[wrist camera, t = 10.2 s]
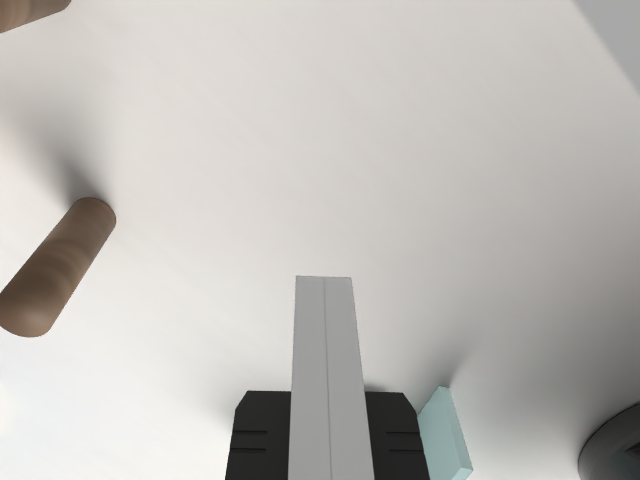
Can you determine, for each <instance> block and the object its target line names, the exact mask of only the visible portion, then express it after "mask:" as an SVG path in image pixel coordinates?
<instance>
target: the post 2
mask: <svg viewBox="0 0 640 480" xmlns="http://www.w3.org/2000/svg"><path fill="white" fill-rule="evenodd" d="M115 224H116V217H115V214H114V212H113V210H112V209H111V208H110V207H109V206H108V205H107V204H106V203H104V202H103V201H101V200H98V199H95V198H83V199H80V200H78V201H77V202H75V203H74V205H73V206H72V207H71V208H70V209H69V211H68V212H67V213H66V214H65V215H64V217H63V218H62V219H61V220H60V222H59V223H58V224H57V225H56V226H55V228H54V229H53V230H52V231H51V232H50V234H49V235H48V236H47V237H46V238H45V240H44V241H43V242H42V243H41V245H40V246H39V247H38V248H37V249H36V251H35V252H34V253H33V254H32V255H31V257H30V258H29V259H28V260H27V261H26V263H25V264H24V265H23V266H22V268H21V269H20V270H19V271H18V272H17V274H16V275H15V276H14V277H13V278H12V280H11V281H10V282H9V283H8V284H7V286H6V287H5V288H4V289H3V291H2V292H1V293H0V326H1V327H2V328H4V329H5V330H7V331H8V332H10V333H12V334H15V335H18V336H22V337H38V336H41V335H44V334H45V333H47V332H48V331H49V330H50V328H51V327H52V325H53V324H54V322H55V320H56V319H57V317H58V316H59V314H60V313H61V311H62V309H63V308H64V306H65V305H66V303H67V301H68V300H69V298H70V297H71V295H72V294H73V292H74V290H75V289H76V287H77V286H78V284H79V283H80V281H81V279H82V278H83V276H84V275H85V273H86V271H87V270H88V268H89V267H90V265H91V264H92V262H93V260H94V259H95V257H96V256H97V254H98V253H99V251H100V249H101V248H102V246H103V245H104V243H105V241H106V240H107V238H108V237H109V235H110V234H111V232H112V230H113V229H114V227H115Z"/></svg>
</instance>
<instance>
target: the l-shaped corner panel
mask: <svg viewBox="0 0 640 480" xmlns="http://www.w3.org/2000/svg"><path fill="white" fill-rule="evenodd" d="M417 420H418V424H419V429H420V437H421V438H422V443H423V448H424V454H425V457H426V462H427V466H428V471H429V476H430V480H466V479H467V477H468V476H469V475H470V474H471V473H472V471H473V467H472V464H471V461H470V457H469V454H468V450H467V447H466V444H465V440H464V437H463V433H462V430H461V427H460V423H459V420H458V417H457V413H456V410H455V406H454V403H453V400H452V396H451V393H450V390H449V388H446V387H442V386H438V387H437V389H436V390H435V392H434V393H433V395H432V396H431V398H430V399H429V401H428V402H427V403H426V405H425V406H424V408H423V409H422V411H421V412H420V414H419V415H418V416H417Z"/></svg>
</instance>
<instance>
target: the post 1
mask: <svg viewBox="0 0 640 480" xmlns="http://www.w3.org/2000/svg"><path fill="white" fill-rule="evenodd" d="M70 2H71V0H0V33H3V32H6V31H8V30H11V29H14V28H16V27H19V26H22V25H24V24H27V23H30V22H33V21H35V20H38V19H41V18H43V17H46V16H49V15H51V14H54V13H57V12H59V11H62V10H64V9H65V8H66V7H67V6H68V5H69V4H70Z"/></svg>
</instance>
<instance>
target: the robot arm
mask: <svg viewBox="0 0 640 480" xmlns="http://www.w3.org/2000/svg"><path fill="white" fill-rule="evenodd" d="M578 471H579V475H580V478H581V480H640V404H638V405H636V406H634V407H632V408H630V409H628V410H626V411H624V412H622V413H621V414H619V415H617V416H616V417H614V418H613V419H611V420H610V421H609V422H607V423H606V424H605V425H604V426H602V427H601V428H600V429H599V430H598V431H597V432H596V433H595V434H594V435H593V436H592V437H591V438H590V440H589V441H588V442H587V444H586V445H585V447H584V449H583V451H582V453H581V455H580V458H579V463H578ZM225 480H430V476H429V471H428V466H427V462H426V457H425V454H424V448H423V443H422V438H421V437H420V429H419V424H418V420H417V415H416V411H415V410H414V408H413V407H412V405H411V404H410V402H409V401H408V399H407V398H406V397H405V395H404V394H403V393H395V392H364V384H363V375H362V366H361V357H360V349H359V340H358V331H357V322H356V314H355V305H354V296H353V287H352V279H351V278H350V277H317V276H296V290H295V315H294V340H293V366H292V391H291V392H290V391H247V392H246V394H245V395H244V397H243V399H242V400H241V402H240V403H239V405H238V406H237V408H236V410H235V417H234V423H233V430H232V436H231V443H230V452H229V456H228V463H227V469H226V476H225Z"/></svg>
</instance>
